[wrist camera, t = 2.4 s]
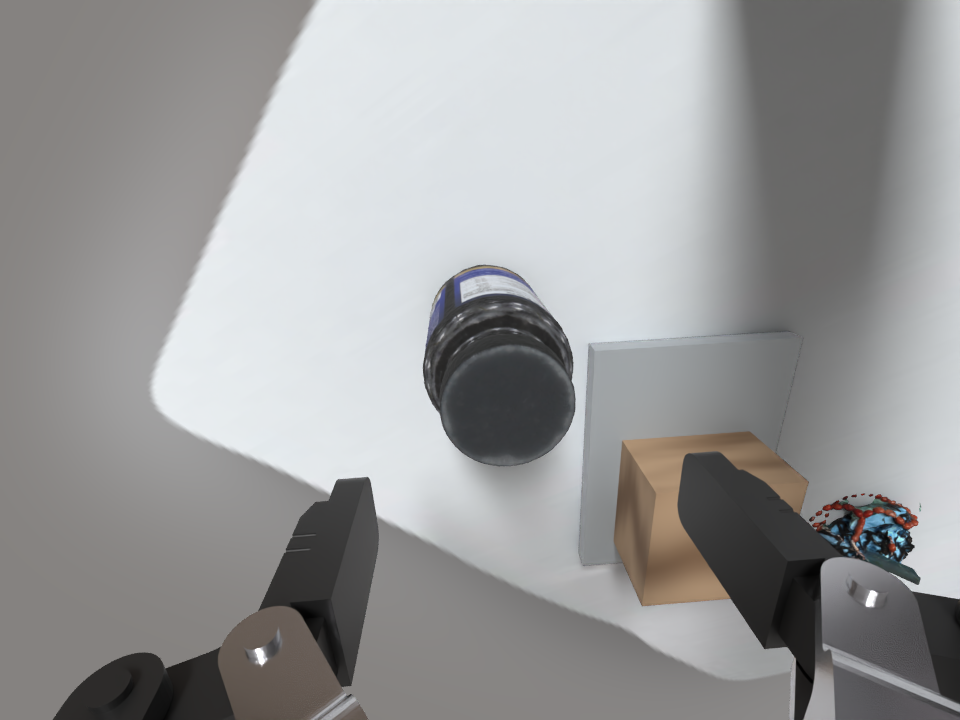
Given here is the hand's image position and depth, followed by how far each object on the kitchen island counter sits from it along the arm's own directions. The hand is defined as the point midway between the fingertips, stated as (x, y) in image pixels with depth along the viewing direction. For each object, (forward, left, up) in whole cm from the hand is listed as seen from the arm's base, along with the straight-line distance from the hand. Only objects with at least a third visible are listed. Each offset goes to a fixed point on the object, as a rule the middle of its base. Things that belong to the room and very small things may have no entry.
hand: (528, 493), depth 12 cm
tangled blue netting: (+18, +27, -16) cm, 36 cm away
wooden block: (+12, +12, -14) cm, 22 cm away
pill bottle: (0, 0, -15) cm, 15 cm away
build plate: (+10, +12, -15) cm, 22 cm away
